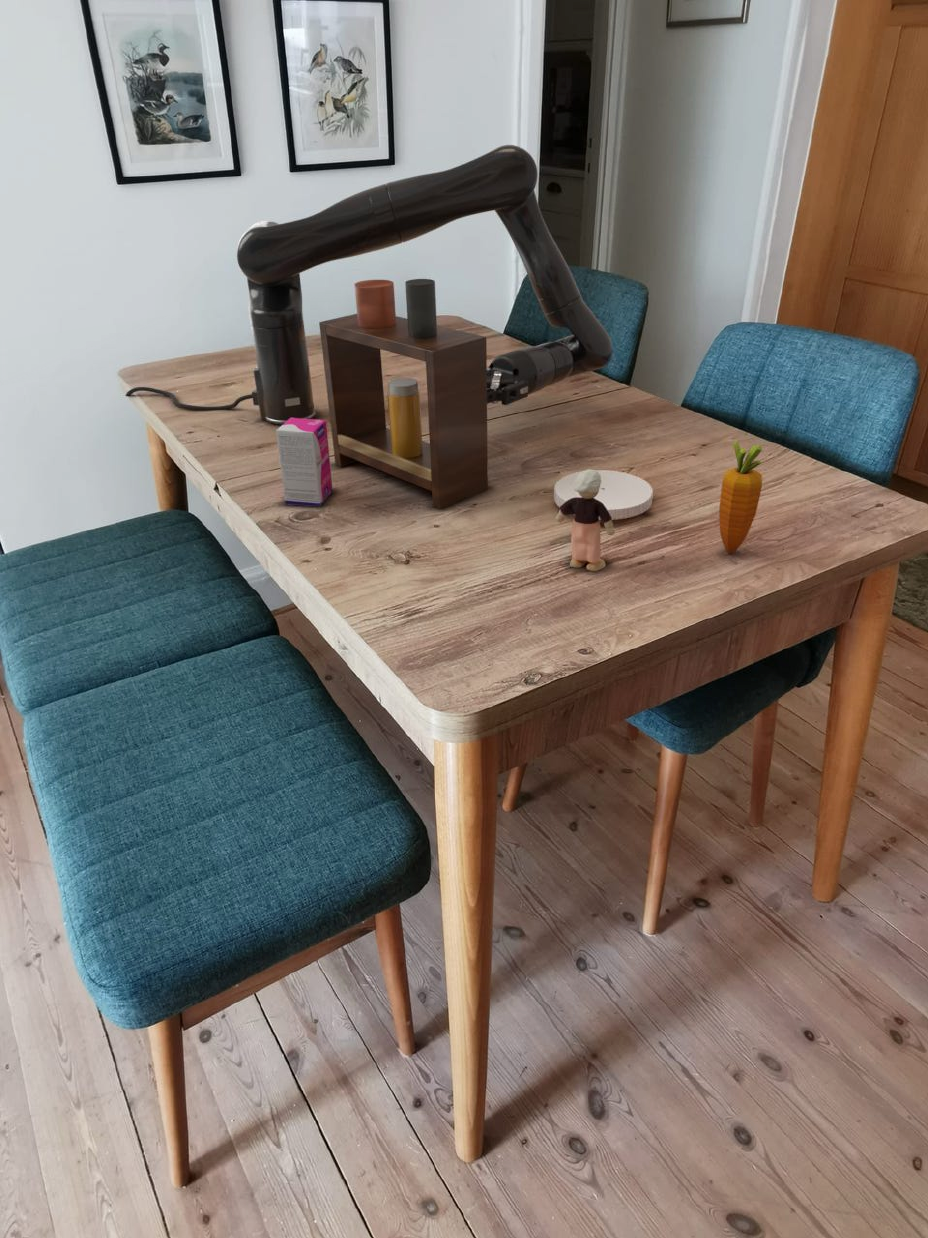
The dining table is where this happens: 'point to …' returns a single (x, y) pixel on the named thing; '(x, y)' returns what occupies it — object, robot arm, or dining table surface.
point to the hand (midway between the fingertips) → (453, 395)
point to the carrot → (739, 498)
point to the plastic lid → (611, 493)
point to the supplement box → (304, 461)
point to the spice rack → (452, 390)
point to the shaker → (405, 417)
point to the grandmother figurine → (587, 521)
